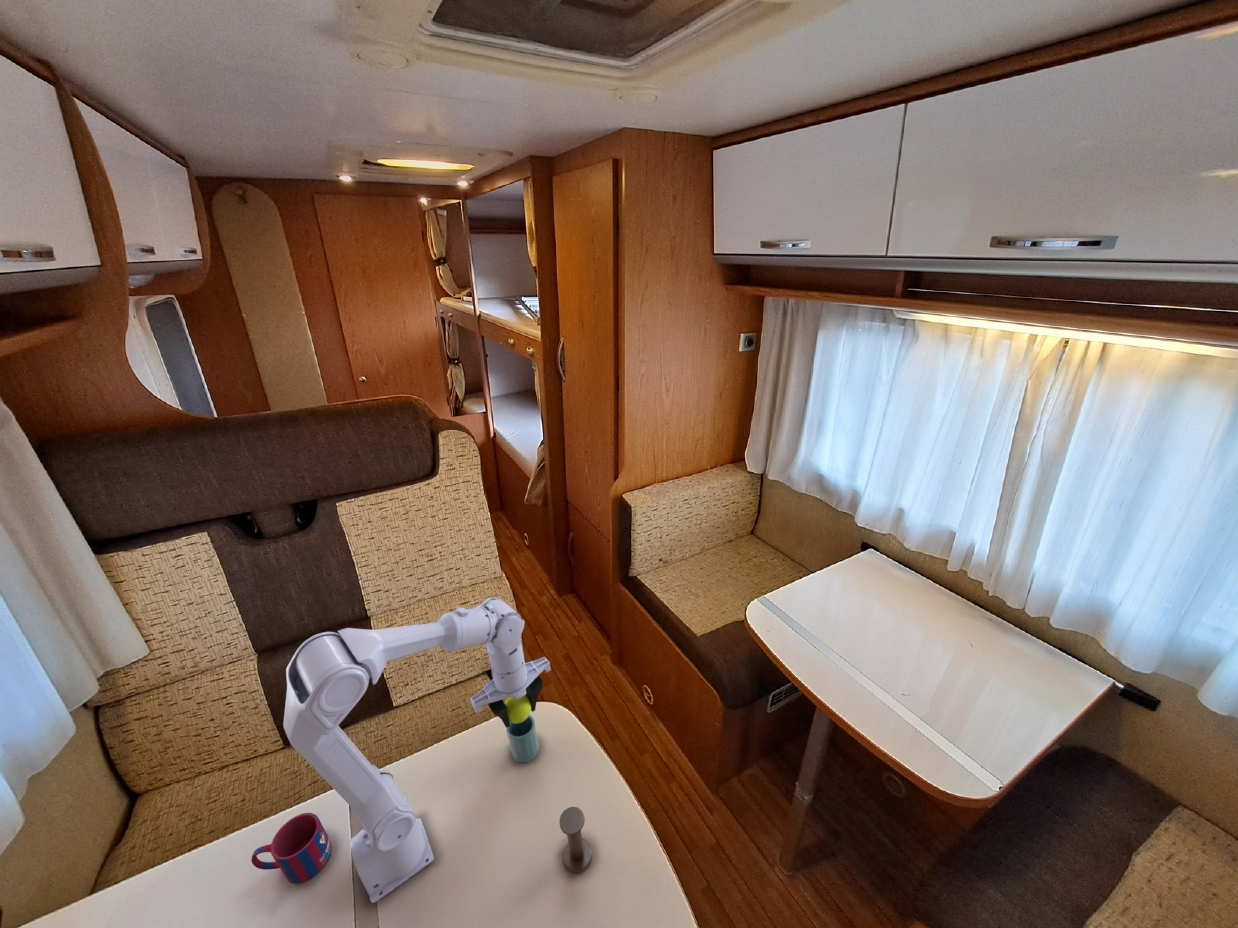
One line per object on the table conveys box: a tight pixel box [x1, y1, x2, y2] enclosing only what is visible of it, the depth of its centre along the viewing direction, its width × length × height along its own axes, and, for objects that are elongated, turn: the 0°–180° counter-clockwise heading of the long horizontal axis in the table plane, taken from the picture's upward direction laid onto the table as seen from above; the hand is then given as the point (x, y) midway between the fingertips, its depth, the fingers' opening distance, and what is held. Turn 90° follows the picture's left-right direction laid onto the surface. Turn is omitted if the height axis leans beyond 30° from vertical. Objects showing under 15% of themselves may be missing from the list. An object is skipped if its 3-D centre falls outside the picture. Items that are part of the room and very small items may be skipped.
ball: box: [504, 695, 532, 723], centre depth 89 cm, size 5×5×5 cm
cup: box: [250, 812, 333, 885], centre depth 78 cm, size 7×10×7 cm
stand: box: [558, 806, 593, 874], centre depth 75 cm, size 5×5×10 cm
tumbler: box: [506, 714, 540, 764], centre depth 93 cm, size 5×5×7 cm
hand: (518, 715), depth 90 cm, fingers closed on ball, 4 cm apart
